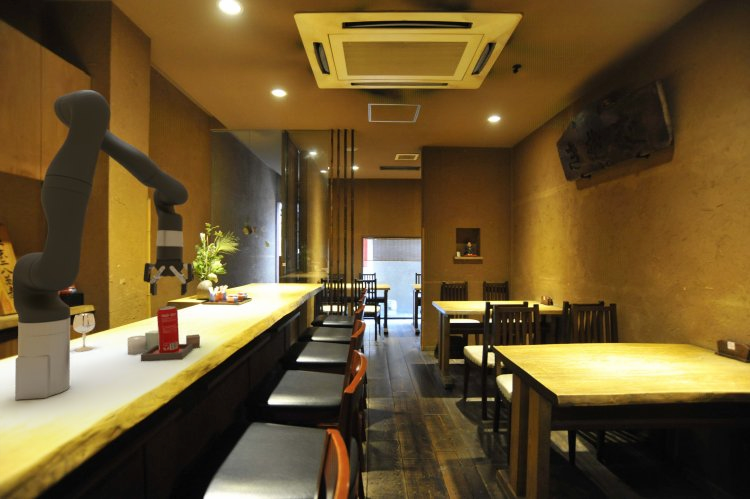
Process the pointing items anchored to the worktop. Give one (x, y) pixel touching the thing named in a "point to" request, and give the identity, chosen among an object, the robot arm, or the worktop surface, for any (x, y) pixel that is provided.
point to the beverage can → (168, 329)
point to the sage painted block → (151, 339)
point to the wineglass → (84, 326)
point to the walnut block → (193, 340)
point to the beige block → (136, 345)
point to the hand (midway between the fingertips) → (168, 295)
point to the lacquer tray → (156, 356)
